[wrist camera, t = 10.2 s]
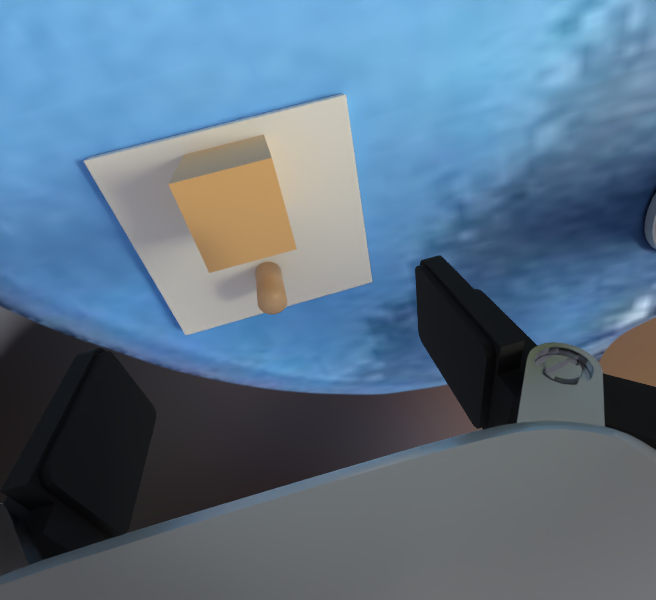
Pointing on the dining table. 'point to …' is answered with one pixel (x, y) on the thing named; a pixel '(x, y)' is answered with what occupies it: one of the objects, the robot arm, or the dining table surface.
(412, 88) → the dining table surface
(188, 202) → the tan cardboard-like box
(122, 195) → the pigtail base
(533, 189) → the dining table surface
